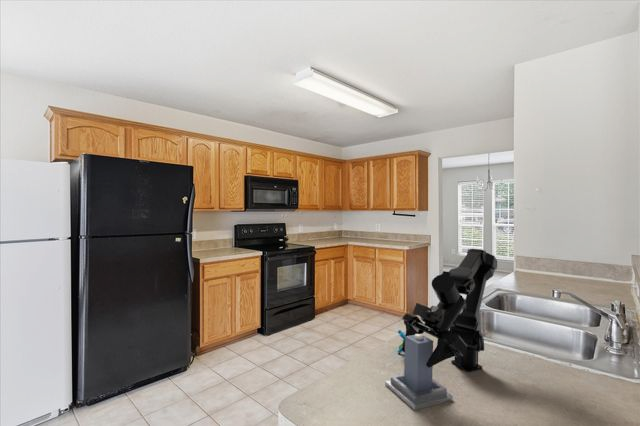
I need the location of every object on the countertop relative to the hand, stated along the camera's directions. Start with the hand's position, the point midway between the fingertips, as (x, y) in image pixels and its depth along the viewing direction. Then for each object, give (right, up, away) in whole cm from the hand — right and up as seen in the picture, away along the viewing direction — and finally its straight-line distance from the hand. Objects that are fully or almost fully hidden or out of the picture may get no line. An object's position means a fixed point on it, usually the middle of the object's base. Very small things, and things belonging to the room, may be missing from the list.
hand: (414, 358), depth 82 cm
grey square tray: (+1, -9, +1) cm, 9 cm away
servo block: (+1, -8, +1) cm, 8 cm away
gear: (+5, -10, +24) cm, 26 cm away
